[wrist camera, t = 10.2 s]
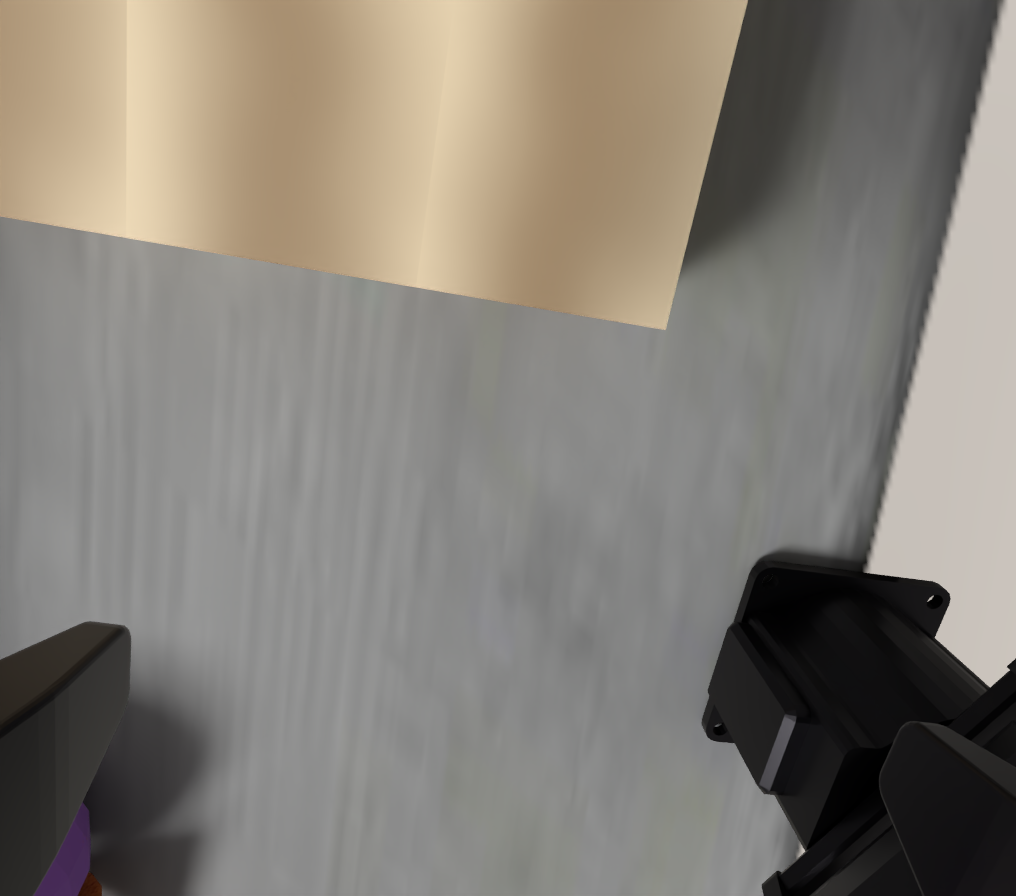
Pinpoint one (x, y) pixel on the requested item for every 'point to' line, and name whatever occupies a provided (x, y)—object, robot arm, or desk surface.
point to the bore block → (379, 136)
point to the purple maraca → (72, 863)
